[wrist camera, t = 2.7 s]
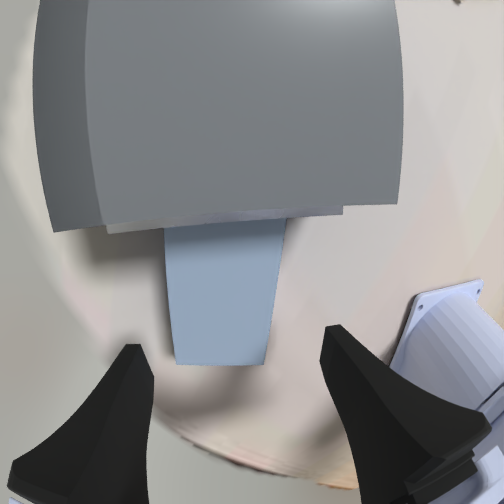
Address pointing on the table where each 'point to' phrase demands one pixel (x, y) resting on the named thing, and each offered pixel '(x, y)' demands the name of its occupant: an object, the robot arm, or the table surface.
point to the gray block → (215, 110)
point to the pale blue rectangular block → (222, 289)
